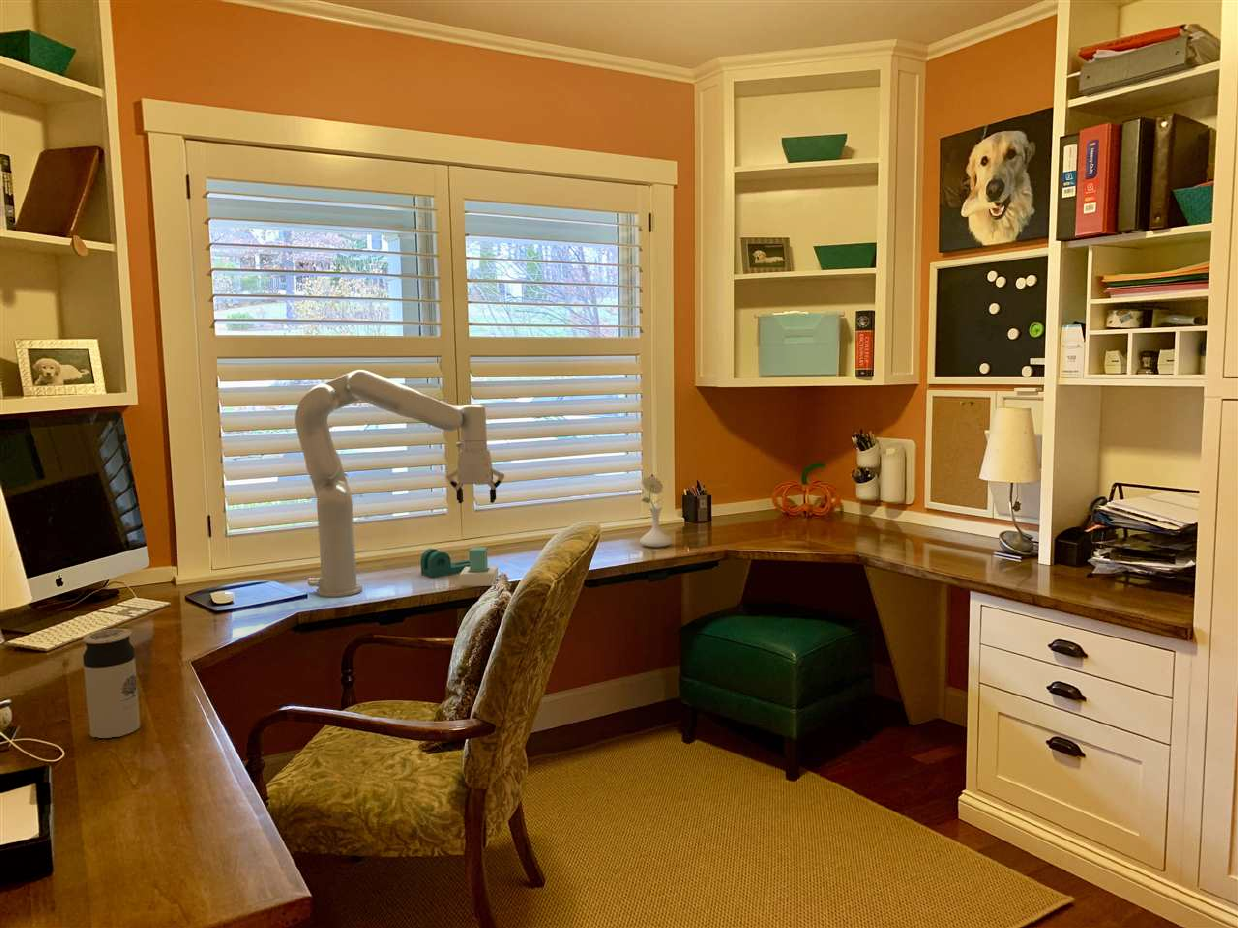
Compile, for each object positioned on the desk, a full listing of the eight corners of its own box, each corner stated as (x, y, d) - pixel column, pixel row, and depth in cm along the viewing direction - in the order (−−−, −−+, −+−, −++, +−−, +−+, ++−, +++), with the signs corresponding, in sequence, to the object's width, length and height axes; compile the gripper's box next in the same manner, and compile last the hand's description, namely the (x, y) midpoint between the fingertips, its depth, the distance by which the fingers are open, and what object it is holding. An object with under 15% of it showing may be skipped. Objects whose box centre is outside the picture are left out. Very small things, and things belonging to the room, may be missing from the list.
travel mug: (79, 736, 161) (70, 638, 159) (118, 720, 168) (110, 626, 166) (112, 742, 158) (103, 643, 156) (150, 725, 165) (142, 630, 163)
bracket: (431, 578, 276) (430, 553, 275) (421, 575, 281) (420, 550, 281) (482, 569, 288) (481, 545, 287) (471, 565, 293) (470, 542, 292)
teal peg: (470, 583, 268) (469, 550, 267) (473, 580, 273) (472, 547, 272) (485, 583, 268) (484, 550, 267) (488, 579, 273) (486, 547, 272)
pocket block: (459, 585, 266) (459, 574, 265) (465, 577, 276) (465, 566, 275) (493, 585, 266) (493, 573, 265) (498, 577, 275) (497, 566, 275)
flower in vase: (678, 546, 316) (677, 476, 314) (652, 550, 310) (651, 479, 307) (656, 541, 327) (655, 472, 324) (630, 545, 321) (629, 475, 318)
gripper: (442, 447, 266) (445, 505, 268) (500, 446, 265) (502, 504, 267) (448, 445, 273) (451, 501, 275) (505, 444, 272) (507, 500, 274)
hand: (476, 502), depth 271 cm, fingers open, 9 cm apart
